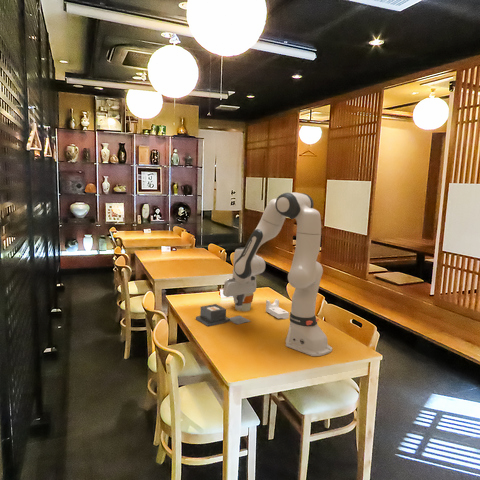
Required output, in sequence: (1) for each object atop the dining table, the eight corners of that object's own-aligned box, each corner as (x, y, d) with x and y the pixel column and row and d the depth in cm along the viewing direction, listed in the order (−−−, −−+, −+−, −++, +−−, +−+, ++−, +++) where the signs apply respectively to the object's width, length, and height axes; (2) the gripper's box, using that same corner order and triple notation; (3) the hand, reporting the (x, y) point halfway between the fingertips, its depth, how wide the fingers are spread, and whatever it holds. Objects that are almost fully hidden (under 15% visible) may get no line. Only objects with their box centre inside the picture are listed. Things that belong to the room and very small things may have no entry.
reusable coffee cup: (228, 309, 224) (229, 284, 222) (237, 304, 235) (238, 280, 233) (247, 313, 219) (249, 288, 217) (256, 307, 230) (258, 283, 228)
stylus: (242, 308, 207) (242, 293, 205) (238, 308, 205) (239, 294, 204) (239, 306, 209) (239, 292, 207) (235, 307, 207) (236, 293, 206)
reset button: (220, 318, 205) (221, 309, 204) (211, 320, 201) (211, 311, 201) (214, 315, 210) (214, 306, 209) (205, 316, 206) (205, 307, 205)
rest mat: (250, 321, 207) (250, 320, 207) (237, 324, 201) (237, 323, 201) (239, 316, 214) (239, 315, 214) (226, 319, 208) (226, 318, 208)
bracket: (265, 312, 223) (266, 300, 222) (275, 311, 227) (276, 298, 226) (278, 320, 212) (278, 307, 211) (288, 318, 215) (289, 305, 214)
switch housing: (230, 321, 205) (230, 309, 204) (208, 326, 197) (208, 313, 196) (217, 314, 215) (217, 302, 214) (195, 319, 206) (196, 306, 205)
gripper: (228, 280, 195) (226, 306, 197) (258, 276, 208) (257, 301, 210) (221, 278, 200) (219, 303, 202) (251, 273, 213) (249, 297, 215)
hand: (239, 302), depth 206 cm, fingers closed on stylus, 3 cm apart
